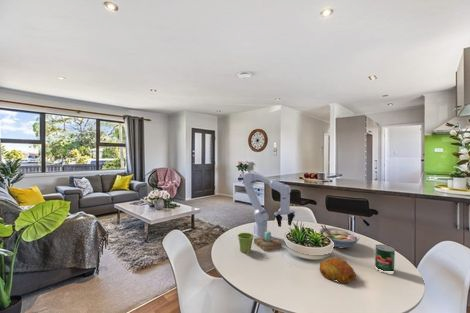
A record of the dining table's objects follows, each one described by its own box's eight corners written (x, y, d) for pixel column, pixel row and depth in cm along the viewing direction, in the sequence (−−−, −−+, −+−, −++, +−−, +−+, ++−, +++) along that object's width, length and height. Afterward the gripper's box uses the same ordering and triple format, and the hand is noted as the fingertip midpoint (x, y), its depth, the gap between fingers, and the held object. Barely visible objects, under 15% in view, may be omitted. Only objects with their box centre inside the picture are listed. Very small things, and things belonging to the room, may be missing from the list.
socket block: (254, 243, 141) (254, 238, 141) (270, 240, 145) (270, 235, 145) (264, 250, 130) (264, 245, 130) (281, 247, 134) (281, 242, 134)
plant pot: (253, 247, 134) (254, 233, 134) (253, 254, 124) (253, 239, 124) (238, 246, 135) (238, 232, 135) (236, 253, 125) (236, 238, 125)
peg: (263, 244, 138) (263, 231, 138) (268, 244, 140) (269, 231, 139) (266, 247, 135) (266, 233, 135) (271, 246, 136) (271, 233, 136)
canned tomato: (390, 267, 113) (391, 245, 113) (397, 275, 106) (397, 252, 106) (372, 264, 115) (373, 243, 115) (377, 272, 108) (378, 249, 108)
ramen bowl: (366, 256, 125) (367, 241, 125) (323, 252, 129) (323, 238, 129) (351, 239, 150) (352, 227, 149) (315, 236, 154) (315, 224, 153)
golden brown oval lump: (314, 275, 109) (312, 258, 109) (339, 265, 114) (337, 250, 114) (337, 291, 96) (335, 273, 95) (364, 280, 101) (362, 262, 101)
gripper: (279, 206, 137) (278, 229, 137) (298, 204, 142) (297, 226, 143) (272, 204, 143) (272, 225, 143) (291, 202, 149) (290, 223, 149)
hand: (284, 225), depth 143 cm, fingers open, 7 cm apart
